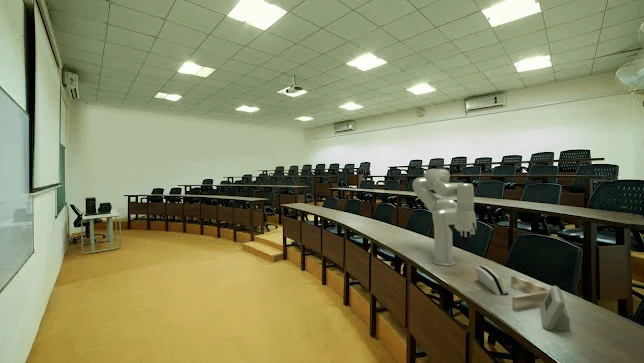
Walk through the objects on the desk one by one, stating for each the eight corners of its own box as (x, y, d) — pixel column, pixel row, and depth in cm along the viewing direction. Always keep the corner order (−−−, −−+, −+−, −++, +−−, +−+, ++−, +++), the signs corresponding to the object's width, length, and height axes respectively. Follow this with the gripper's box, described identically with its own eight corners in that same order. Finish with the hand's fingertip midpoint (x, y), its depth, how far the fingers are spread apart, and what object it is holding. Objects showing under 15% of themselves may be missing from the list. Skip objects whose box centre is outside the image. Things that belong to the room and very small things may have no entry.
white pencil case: (510, 295, 115) (502, 273, 115) (499, 299, 116) (491, 277, 116) (488, 280, 132) (481, 260, 132) (479, 283, 132) (472, 264, 132)
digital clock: (541, 309, 103) (541, 281, 103) (573, 318, 97) (573, 288, 96) (532, 326, 92) (532, 295, 92) (567, 337, 86) (567, 304, 86)
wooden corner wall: (478, 291, 119) (478, 280, 119) (514, 286, 124) (514, 275, 124) (516, 311, 102) (516, 297, 102) (556, 303, 107) (556, 291, 107)
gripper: (448, 206, 143) (449, 241, 144) (470, 210, 129) (471, 248, 129) (460, 206, 145) (461, 240, 146) (483, 209, 131) (484, 247, 131)
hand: (465, 244), depth 137 cm, fingers closed
